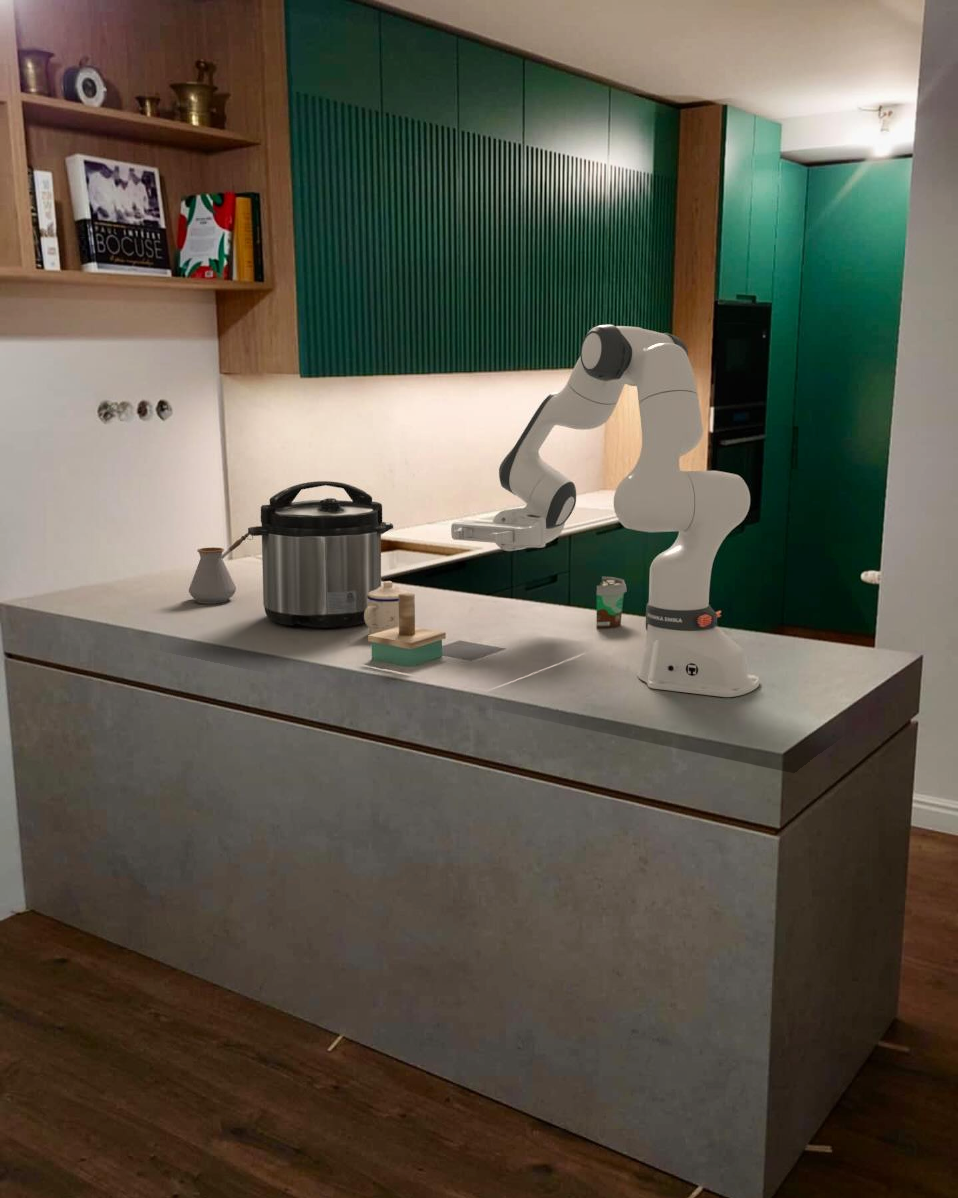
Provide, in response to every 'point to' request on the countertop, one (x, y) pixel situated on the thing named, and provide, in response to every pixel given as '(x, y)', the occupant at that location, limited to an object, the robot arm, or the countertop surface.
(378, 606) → the teacup with lid
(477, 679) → the countertop surface
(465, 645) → the mat
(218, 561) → the coffee pot
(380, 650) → the dish
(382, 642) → the lid
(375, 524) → the pressure cooker
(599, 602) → the food container
